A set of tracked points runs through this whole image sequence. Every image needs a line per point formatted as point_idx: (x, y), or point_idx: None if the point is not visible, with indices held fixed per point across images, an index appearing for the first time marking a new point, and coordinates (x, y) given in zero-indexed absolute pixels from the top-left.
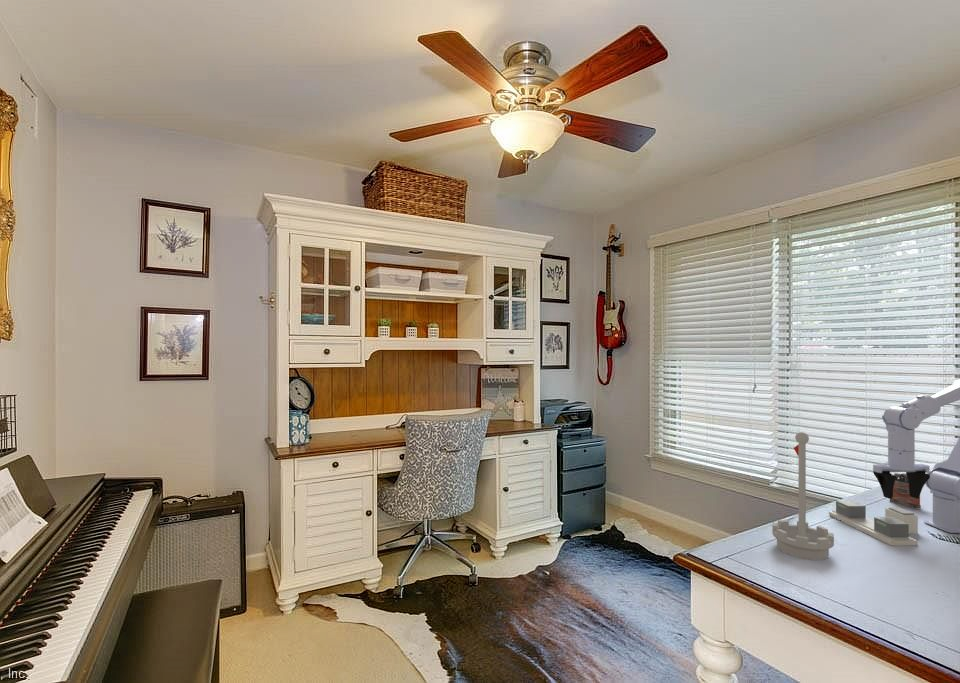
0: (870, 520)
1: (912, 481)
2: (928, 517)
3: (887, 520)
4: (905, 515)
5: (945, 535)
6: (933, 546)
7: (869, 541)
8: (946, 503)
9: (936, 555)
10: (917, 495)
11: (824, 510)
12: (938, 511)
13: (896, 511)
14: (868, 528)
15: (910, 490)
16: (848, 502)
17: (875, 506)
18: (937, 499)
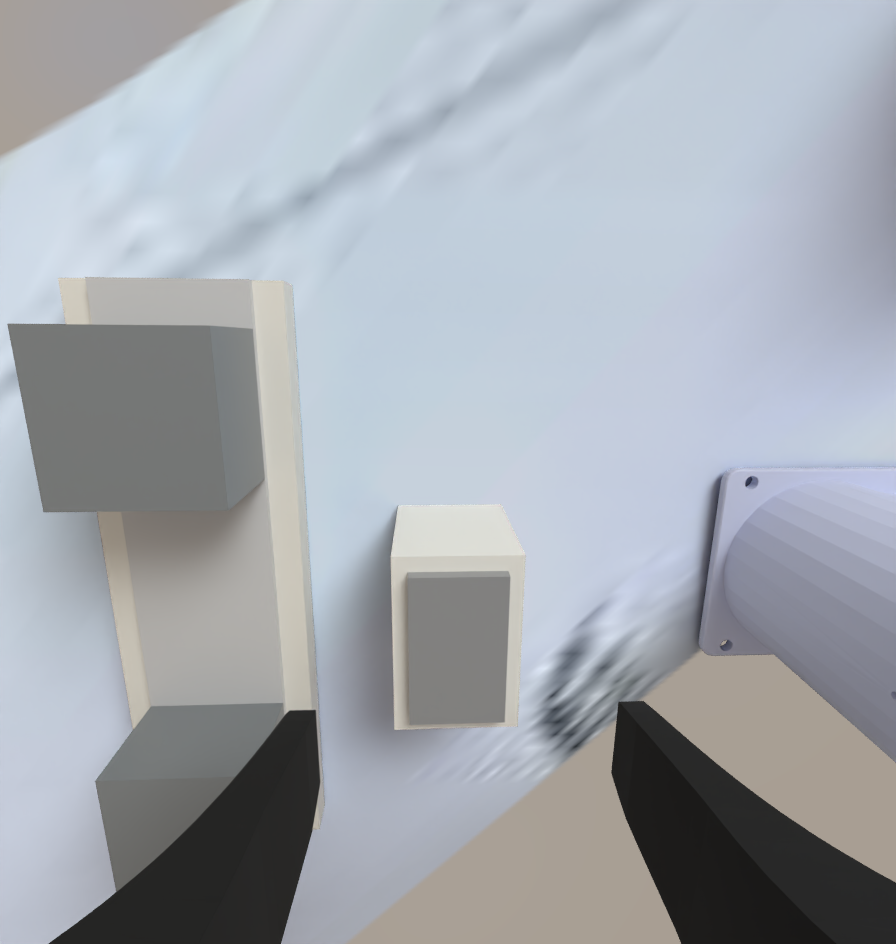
0: (263, 532)
1: (730, 924)
2: (886, 348)
3: (156, 840)
4: (411, 728)
5: (638, 671)
6: (405, 812)
7: (74, 761)
8: (879, 744)
9: (316, 905)
10: (626, 815)
11: (118, 138)
12: (799, 630)
13: (409, 653)
14: (148, 658)
15: (651, 760)
16: (115, 397)
17: (716, 30)
18: (888, 693)
